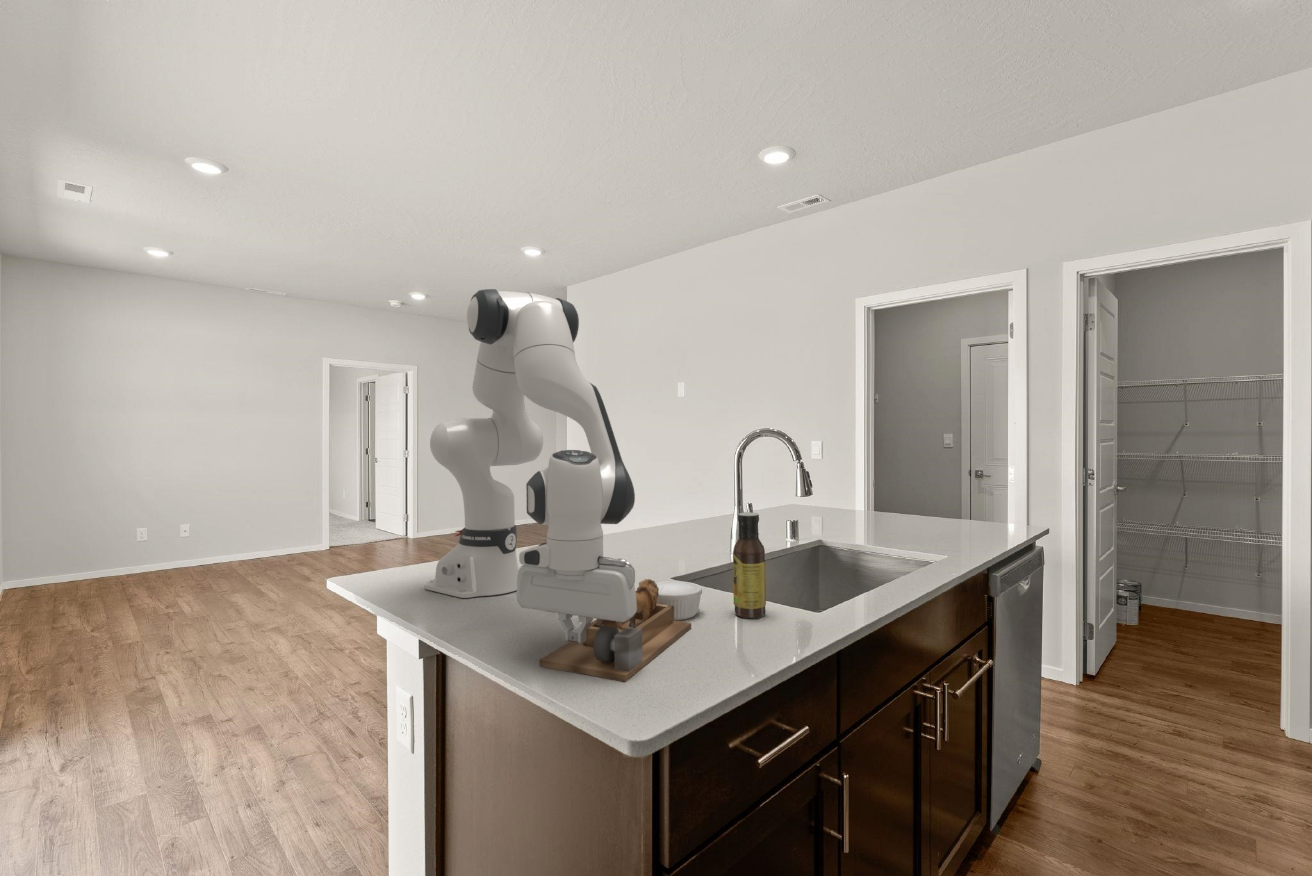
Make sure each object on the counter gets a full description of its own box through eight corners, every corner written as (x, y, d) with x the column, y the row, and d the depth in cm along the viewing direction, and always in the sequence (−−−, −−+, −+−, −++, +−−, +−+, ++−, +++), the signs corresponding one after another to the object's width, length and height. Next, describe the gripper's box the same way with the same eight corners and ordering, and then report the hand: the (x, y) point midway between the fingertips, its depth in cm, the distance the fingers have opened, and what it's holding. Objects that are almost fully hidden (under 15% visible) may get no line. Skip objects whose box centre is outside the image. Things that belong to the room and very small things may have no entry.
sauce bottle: (739, 608, 126) (738, 510, 125) (769, 612, 123) (769, 511, 123) (729, 617, 120) (728, 514, 120) (760, 621, 117) (760, 516, 117)
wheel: (593, 664, 94) (593, 631, 93) (609, 653, 98) (609, 622, 98) (613, 668, 92) (613, 634, 92) (628, 656, 97) (628, 624, 97)
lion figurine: (636, 628, 114) (643, 578, 116) (660, 632, 111) (667, 581, 114) (587, 625, 102) (595, 570, 105) (613, 630, 100) (621, 573, 102)
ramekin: (637, 609, 126) (637, 583, 126) (687, 603, 130) (687, 578, 130) (657, 625, 116) (657, 597, 116) (711, 618, 120) (711, 591, 120)
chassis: (539, 665, 96) (539, 627, 96) (618, 618, 120) (618, 587, 120) (625, 681, 90) (625, 640, 90) (691, 628, 114) (691, 595, 114)
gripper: (643, 555, 96) (643, 644, 97) (533, 545, 105) (534, 626, 105) (625, 564, 91) (625, 658, 91) (510, 552, 99) (511, 638, 99)
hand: (575, 641), depth 98 cm, fingers closed
